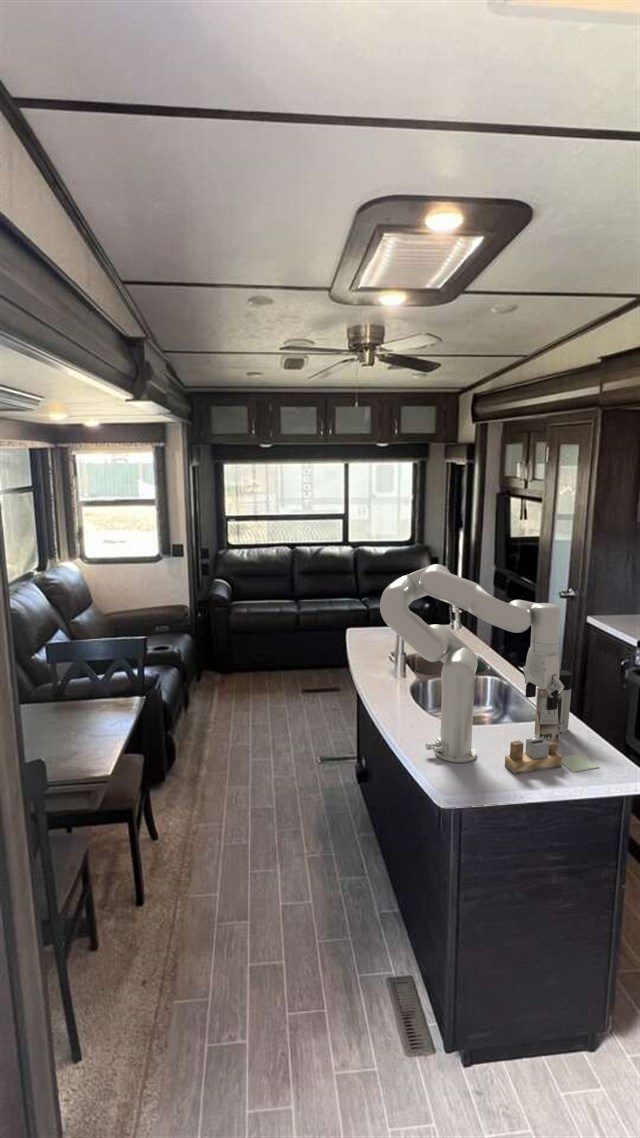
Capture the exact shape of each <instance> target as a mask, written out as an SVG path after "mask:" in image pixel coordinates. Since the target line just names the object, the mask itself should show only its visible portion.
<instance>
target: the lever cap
mask: <svg viewBox="0 0 640 1138" xmlns="http://www.w3.org/2000/svg"><path fill="white" fill-rule="evenodd" d="M525 740H526V741H525V752H524V753H525V754H527V755H528V756H529V757H531V758H532V759H533V760H535V759H541V758H547V757H548V754H549V743H548V742H547V741H546V740H544V739H543V738H542V737H539V738H536V737H533V738H526V739H525Z"/></svg>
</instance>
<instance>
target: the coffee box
mask: <svg viewBox="0 0 640 1138" xmlns="http://www.w3.org/2000/svg"><path fill="white" fill-rule="evenodd" d="M551 691H552V692H553V691H554V690H553V689H551ZM548 696H549V695H548V693H547V690H546V689H542V688H540V687H536V699H535V700H536V701H535V702H536V703H535V716H534V717H535V719H534V736H535V738H539V737H542V738H543V739H544V740H546V741H547V742H555V743H556V744H557V747H559V742H560V733H559V731H560V718H561V706H562V698H561V696H559V697H558V702H557V709H555V710H547V709H546V705H547V697H548Z"/></svg>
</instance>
